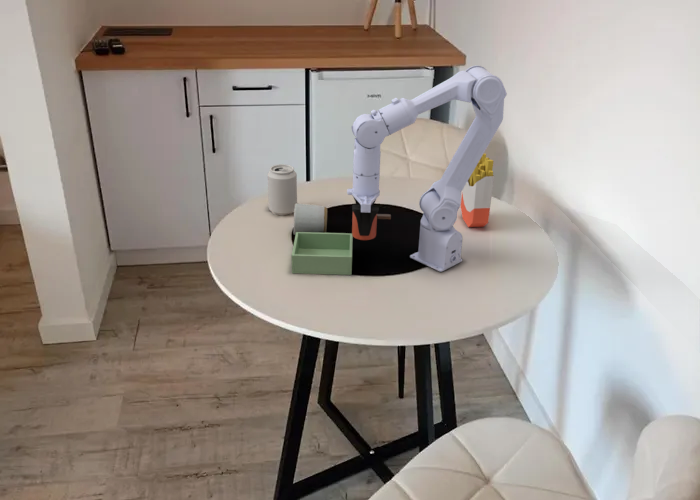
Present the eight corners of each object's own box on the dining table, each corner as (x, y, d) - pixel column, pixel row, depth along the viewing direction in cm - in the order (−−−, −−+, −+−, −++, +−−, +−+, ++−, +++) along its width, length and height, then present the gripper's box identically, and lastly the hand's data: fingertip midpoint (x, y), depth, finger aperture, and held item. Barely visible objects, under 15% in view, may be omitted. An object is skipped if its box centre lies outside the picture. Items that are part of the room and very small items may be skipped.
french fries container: (469, 231, 171) (477, 164, 162) (458, 213, 180) (465, 149, 172) (487, 231, 171) (496, 163, 163) (475, 213, 181) (482, 148, 172)
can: (281, 202, 184) (280, 160, 179) (302, 209, 180) (302, 167, 175) (262, 211, 179) (261, 168, 173) (284, 218, 175) (283, 175, 169)
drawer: (352, 250, 160) (352, 233, 158) (351, 275, 150) (352, 257, 148) (296, 248, 160) (296, 231, 158) (291, 273, 150) (291, 255, 148)
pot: (351, 239, 149) (352, 216, 147) (352, 229, 154) (352, 206, 152) (390, 240, 149) (391, 217, 147) (389, 230, 154) (390, 207, 152)
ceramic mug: (327, 240, 165) (327, 211, 161) (293, 240, 164) (292, 210, 161) (326, 222, 174) (326, 194, 171) (294, 222, 174) (294, 194, 170)
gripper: (348, 159, 151) (346, 214, 158) (347, 183, 138) (345, 243, 145) (379, 160, 151) (377, 215, 158) (381, 184, 138) (378, 244, 145)
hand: (364, 229), depth 151 cm, fingers closed on pot, 5 cm apart
